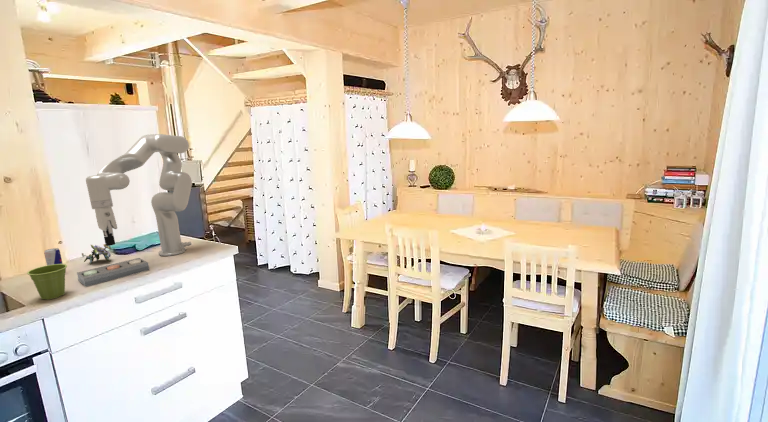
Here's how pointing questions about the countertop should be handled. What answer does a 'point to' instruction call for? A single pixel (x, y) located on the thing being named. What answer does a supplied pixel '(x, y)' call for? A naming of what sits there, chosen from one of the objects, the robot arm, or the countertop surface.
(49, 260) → the energy drink
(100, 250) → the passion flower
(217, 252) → the countertop surface
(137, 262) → the ivory button
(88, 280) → the console
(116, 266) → the terracotta button
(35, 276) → the plant pot
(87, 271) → the sage button
